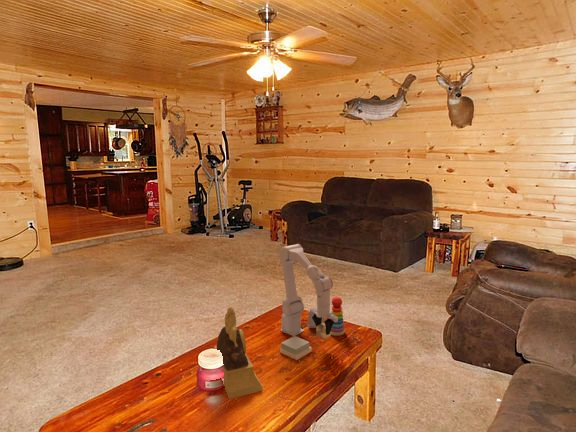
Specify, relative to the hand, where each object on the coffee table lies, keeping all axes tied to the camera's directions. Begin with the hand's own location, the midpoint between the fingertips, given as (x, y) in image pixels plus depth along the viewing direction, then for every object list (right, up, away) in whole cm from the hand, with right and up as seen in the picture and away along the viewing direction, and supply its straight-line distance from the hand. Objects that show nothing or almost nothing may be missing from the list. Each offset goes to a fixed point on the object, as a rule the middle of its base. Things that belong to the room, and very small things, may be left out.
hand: (323, 332), depth 176 cm
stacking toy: (+8, -5, +17) cm, 20 cm away
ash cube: (0, -2, 0) cm, 2 cm away
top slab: (-13, -7, -1) cm, 14 cm away
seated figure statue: (-37, -12, -18) cm, 43 cm away
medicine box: (-1, -4, +24) cm, 25 cm away
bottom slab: (-12, -9, 0) cm, 15 cm away
